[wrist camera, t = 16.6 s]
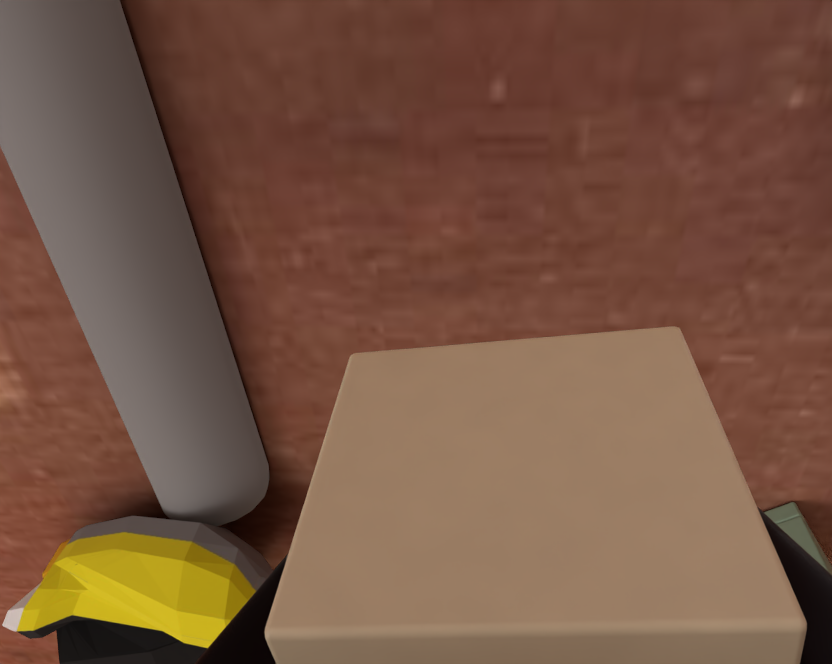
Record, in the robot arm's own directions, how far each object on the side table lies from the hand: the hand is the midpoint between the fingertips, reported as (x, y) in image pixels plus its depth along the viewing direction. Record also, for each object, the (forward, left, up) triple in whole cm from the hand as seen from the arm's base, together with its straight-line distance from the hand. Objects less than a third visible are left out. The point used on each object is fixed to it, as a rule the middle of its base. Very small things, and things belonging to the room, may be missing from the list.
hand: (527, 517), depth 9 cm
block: (0, 0, -1) cm, 1 cm away
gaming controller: (+13, +16, -11) cm, 23 cm away
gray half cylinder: (+11, -1, -11) cm, 15 cm away
